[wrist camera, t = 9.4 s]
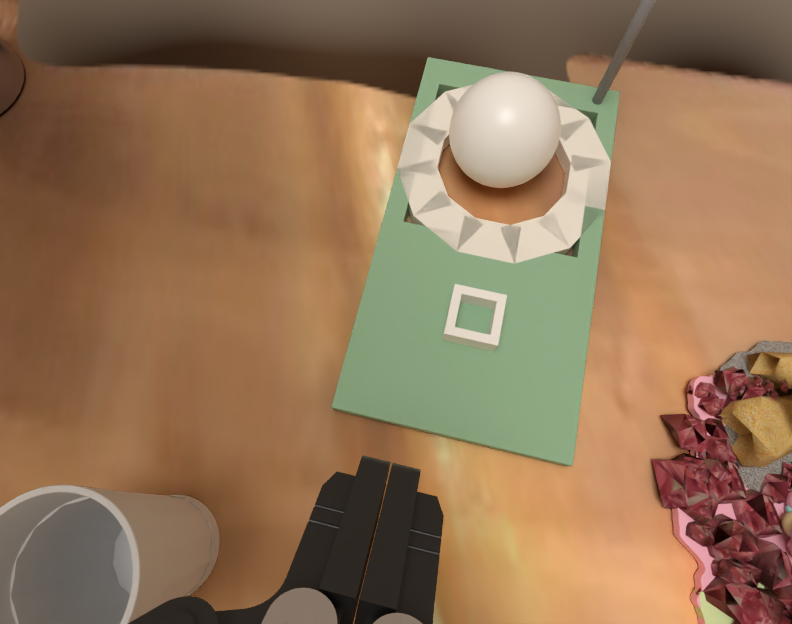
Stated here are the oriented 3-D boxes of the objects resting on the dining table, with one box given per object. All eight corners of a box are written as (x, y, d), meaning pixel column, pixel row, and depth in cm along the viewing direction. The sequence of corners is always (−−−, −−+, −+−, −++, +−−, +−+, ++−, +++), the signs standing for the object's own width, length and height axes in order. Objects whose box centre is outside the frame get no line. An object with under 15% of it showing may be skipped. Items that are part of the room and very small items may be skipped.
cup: (121, 479, 34) (-23, 481, 22) (240, 483, 33) (155, 488, 22) (95, 614, 31) (-83, 695, 20) (223, 620, 31) (118, 705, 19)
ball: (423, 79, 36) (432, 180, 41) (496, 109, 30) (495, 221, 36) (511, 47, 38) (508, 147, 43) (593, 71, 33) (578, 181, 38)
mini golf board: (565, 466, 33) (693, 459, 19) (334, 410, 35) (283, 362, 20) (612, 104, 42) (724, -94, 28) (427, 70, 44) (439, -136, 29)
